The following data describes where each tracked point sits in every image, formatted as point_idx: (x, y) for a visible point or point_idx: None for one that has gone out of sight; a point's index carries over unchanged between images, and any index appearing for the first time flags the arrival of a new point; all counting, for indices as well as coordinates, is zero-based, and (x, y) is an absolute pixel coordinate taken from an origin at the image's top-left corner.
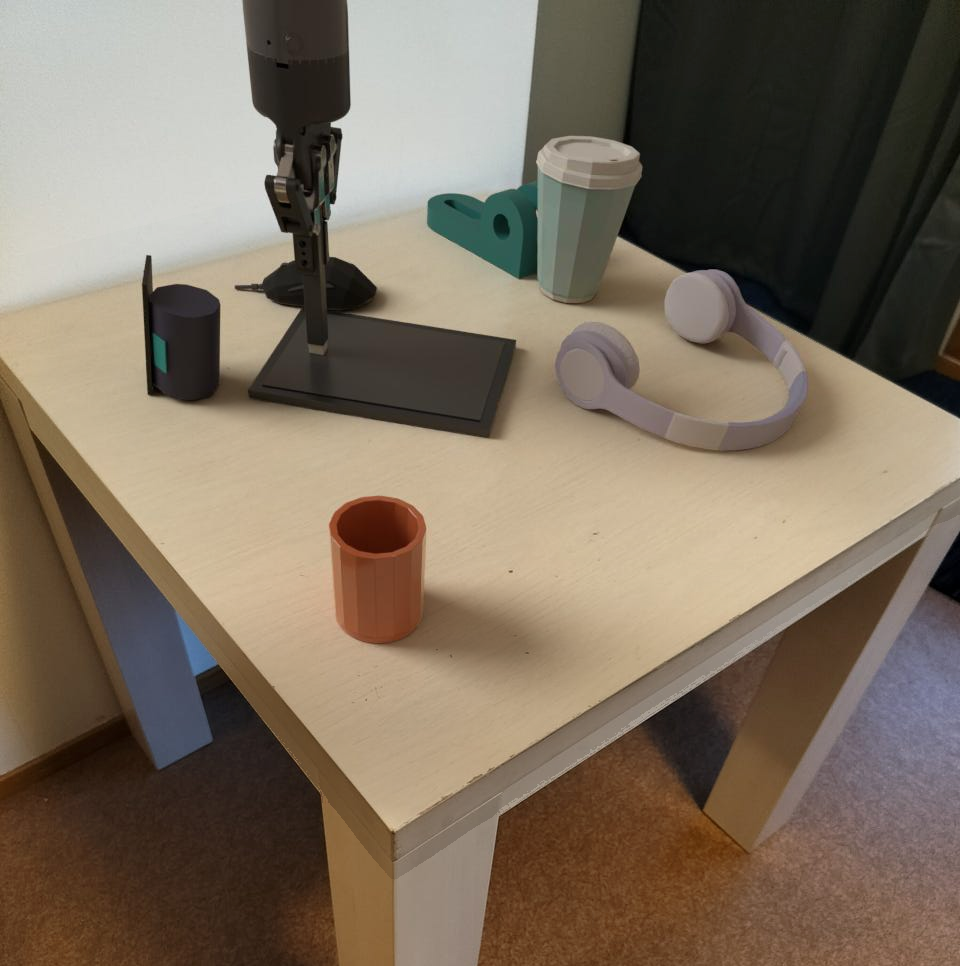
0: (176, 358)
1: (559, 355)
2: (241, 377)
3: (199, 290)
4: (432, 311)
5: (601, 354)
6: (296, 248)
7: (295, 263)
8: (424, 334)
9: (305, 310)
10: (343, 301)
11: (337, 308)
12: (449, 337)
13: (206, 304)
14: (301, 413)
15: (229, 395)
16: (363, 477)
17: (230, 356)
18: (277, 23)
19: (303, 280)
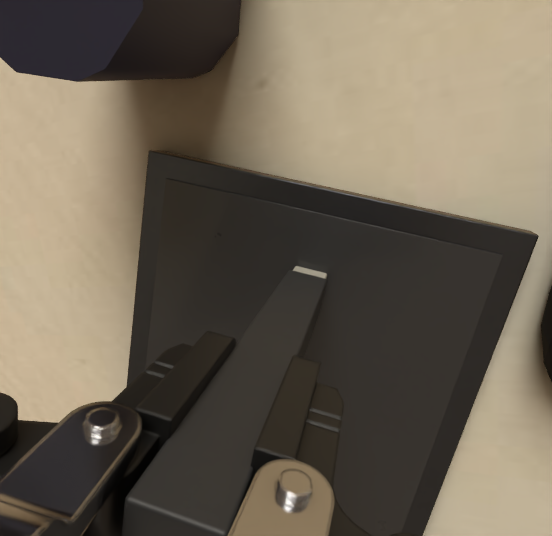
0: None
1: None
2: (230, 120)
3: None
4: (540, 512)
5: None
6: (132, 386)
7: (198, 341)
8: (392, 492)
9: (269, 297)
10: (547, 341)
11: (544, 317)
12: (381, 533)
13: (50, 36)
14: (132, 253)
15: (164, 107)
16: (4, 349)
17: (313, 76)
18: None
19: (244, 332)
